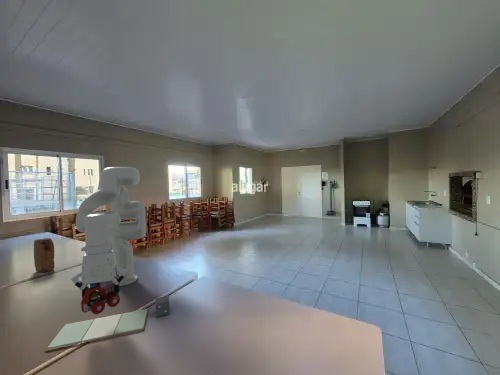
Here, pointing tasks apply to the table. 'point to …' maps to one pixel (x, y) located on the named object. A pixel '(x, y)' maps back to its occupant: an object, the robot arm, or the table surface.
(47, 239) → the block
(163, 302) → the die
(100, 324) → the pale green flat board
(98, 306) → the toy fire truck
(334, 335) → the table surface
